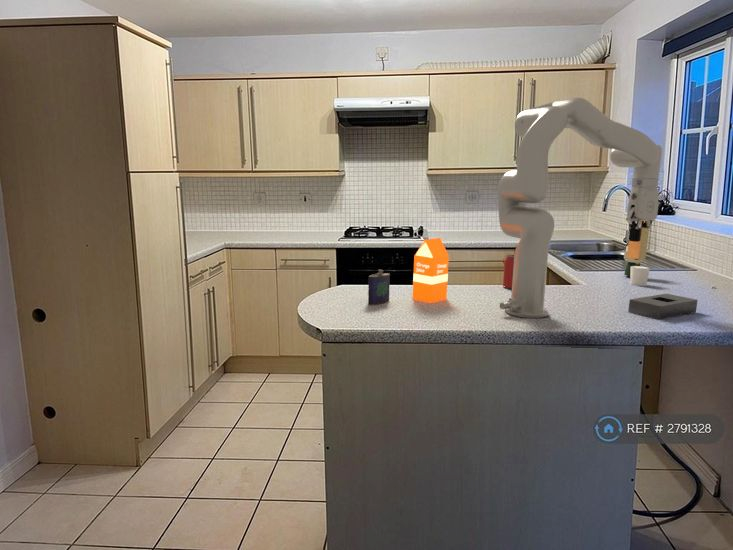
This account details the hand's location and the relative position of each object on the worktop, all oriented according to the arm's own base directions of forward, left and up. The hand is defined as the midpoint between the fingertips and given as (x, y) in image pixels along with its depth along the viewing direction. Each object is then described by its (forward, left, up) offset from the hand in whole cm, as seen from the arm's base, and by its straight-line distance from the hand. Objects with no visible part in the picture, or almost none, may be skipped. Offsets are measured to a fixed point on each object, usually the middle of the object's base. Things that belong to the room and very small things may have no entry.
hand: (638, 240), depth 179 cm
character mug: (+47, +30, -21) cm, 60 cm away
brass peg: (0, 0, -6) cm, 6 cm away
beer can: (-18, +36, -21) cm, 46 cm away
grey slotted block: (-2, -12, -21) cm, 24 cm away
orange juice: (-58, +34, -21) cm, 71 cm away
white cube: (+34, +19, -21) cm, 44 cm away
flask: (-76, +37, -21) cm, 87 cm away
